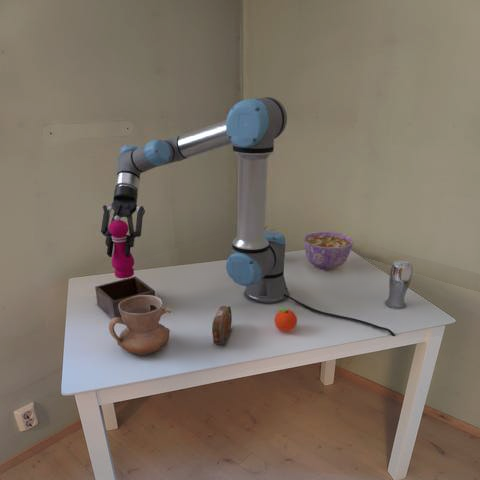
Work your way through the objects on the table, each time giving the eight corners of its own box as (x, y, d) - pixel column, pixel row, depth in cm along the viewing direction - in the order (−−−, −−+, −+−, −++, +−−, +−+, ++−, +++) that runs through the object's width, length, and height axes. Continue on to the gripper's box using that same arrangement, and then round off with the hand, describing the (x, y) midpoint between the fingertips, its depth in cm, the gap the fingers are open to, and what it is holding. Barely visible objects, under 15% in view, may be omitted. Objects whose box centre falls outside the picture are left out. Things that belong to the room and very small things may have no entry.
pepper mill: (124, 280, 146) (116, 220, 137) (108, 276, 150) (99, 216, 140) (140, 273, 152) (133, 214, 142) (124, 268, 155) (117, 211, 145)
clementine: (267, 329, 142) (267, 309, 139) (279, 321, 147) (280, 301, 144) (287, 338, 138) (289, 317, 134) (300, 329, 143) (302, 309, 139)
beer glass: (409, 304, 158) (417, 264, 151) (400, 311, 154) (408, 270, 146) (390, 298, 162) (397, 258, 155) (381, 304, 158) (388, 264, 151)
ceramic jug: (167, 329, 142) (163, 288, 135) (180, 352, 131) (176, 309, 124) (108, 341, 136) (101, 298, 129) (117, 366, 125) (109, 321, 118)
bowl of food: (310, 277, 178) (313, 249, 173) (295, 259, 195) (297, 233, 190) (358, 273, 182) (362, 246, 176) (338, 256, 199) (341, 230, 193)
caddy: (156, 308, 155) (155, 290, 151) (115, 321, 147) (112, 302, 144) (137, 293, 165) (135, 276, 162) (97, 304, 157) (94, 286, 154)
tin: (221, 350, 132) (221, 325, 128) (211, 349, 132) (210, 324, 128) (232, 325, 145) (232, 301, 141) (223, 324, 145) (222, 300, 141)
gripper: (155, 197, 153) (148, 261, 147) (103, 196, 154) (94, 259, 147) (150, 184, 146) (143, 251, 139) (95, 183, 147) (85, 249, 140)
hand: (118, 255), depth 143 cm, fingers closed on pepper mill, 5 cm apart
